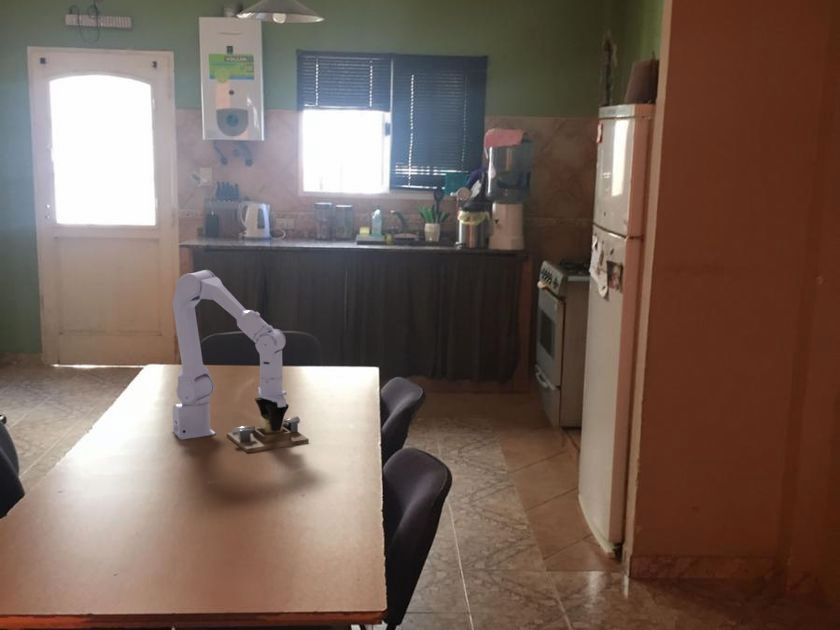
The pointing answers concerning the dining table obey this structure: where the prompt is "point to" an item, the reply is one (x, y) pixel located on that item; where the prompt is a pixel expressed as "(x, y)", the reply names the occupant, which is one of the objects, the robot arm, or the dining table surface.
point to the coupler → (267, 425)
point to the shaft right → (291, 424)
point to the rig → (269, 440)
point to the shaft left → (244, 433)
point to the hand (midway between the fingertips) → (271, 427)
